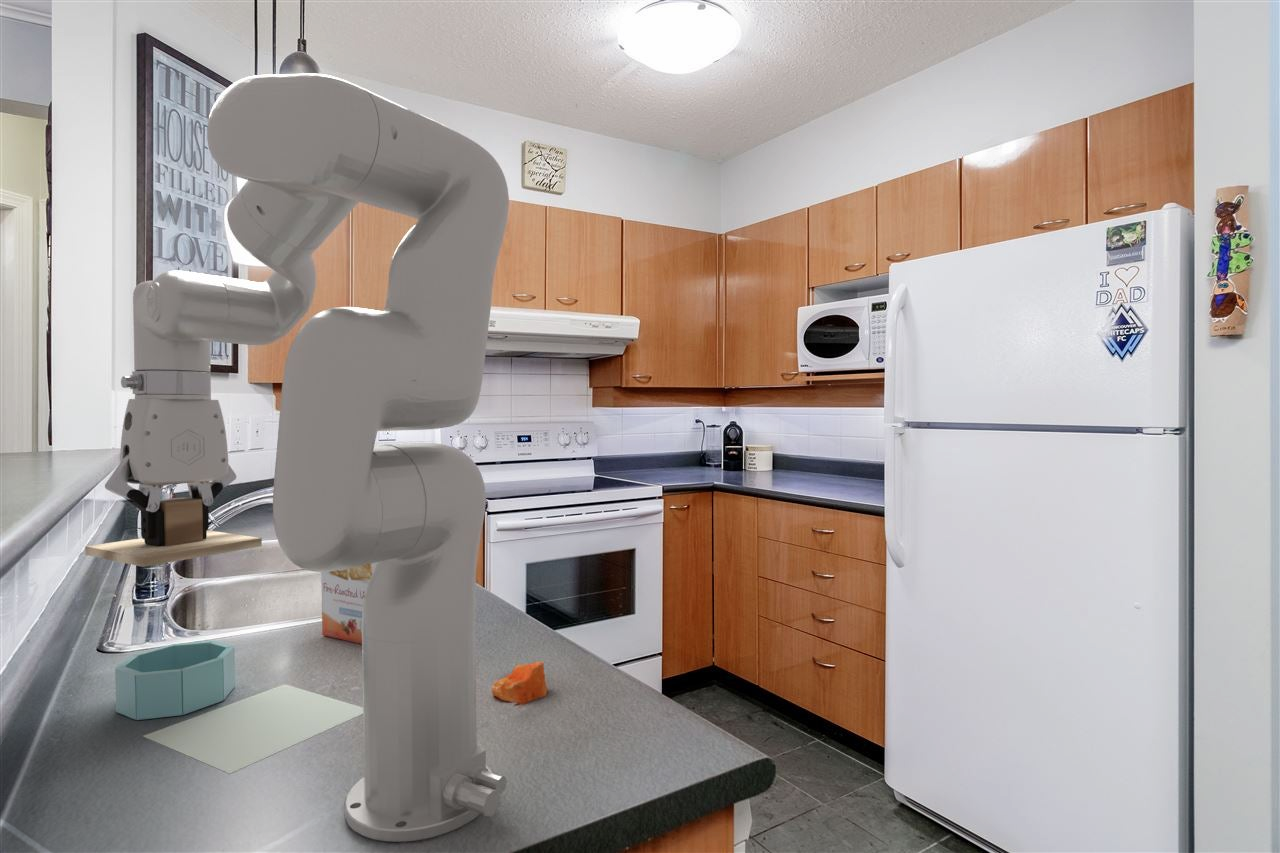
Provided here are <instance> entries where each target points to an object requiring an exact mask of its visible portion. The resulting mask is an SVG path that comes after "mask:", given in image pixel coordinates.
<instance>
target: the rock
mask: <svg viewBox="0 0 1280 853" xmlns="http://www.w3.org/2000/svg"><path fill="white" fill-rule="evenodd" d="M547 692H548V688H547V684H546V674H545V667H544V662H543V661H537V662H533V663H529V664H518V665H516V666H515V667H513V669H512V671H511V672H510V674H509V675H506V676H505V677H504V678H500V679H499V680H496V681H494V683H493V684H492V687H491V694H492V695H493V696H494V697H496V698H498V699H499V700H501V701H504V702H510V703H515V704H514V705H513V706H517V707H518V706H523V705H525V704H527V703H529V702H531V701H533V700H536V699H539V698H542V697H545V696H546V695H547Z"/></svg>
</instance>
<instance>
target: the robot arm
mask: <svg viewBox="0 0 1280 853" xmlns="http://www.w3.org/2000/svg"><path fill="white" fill-rule="evenodd" d="M206 126H207V127H206V142H207V146H208V150H209V152H210V155H211V157H212V158H213V160H214V161H215V163H216V164H217V165H218V166H219V167H220V168H221V169H222V171H224V172H226V173H228V174H229V175H232V176H233V177H237V178H240V179H244V180H246V182H245V183H244V185H243V186H242V187H241V188H240V190H239V191H238V192H237V194H235V196H234V197H233V199H232V200H231V201H230V203H229V204H228V208H227V213H226V216H227V222H228V226H229V229H230V231H231V233H232V235H233V236H234V238H235V239H236V241H237V242H238V243H239V244H240V245H241V247H242V248H243V249H244V250H246V251H247V252H248V253H249V254H250V255H251V256H253V258H255V259H256V260H257V261H259V262H261V263H262V264H264V265H265V266H266V267H268V268H269V269H271V270H273V271H274V272H273V273H272V274H271V275H270V276H269V277H268V278H267V279H265V280H264V281H263V282H257V281H252V280H251V281H250V280H246V279H239V278H235V277H227V276H220V275H215V274H214V275H213V274H205V273H199V272H194V271H186V270H168V271H164V272H163V273H161V274H159V275H158V276H156V277H155V279H153V280H146V281H142V282H140V283H138V284H137V285H136V286H135V287H134V289H133V293H132V295H133V296H132V312H133V313H132V315H133V316H132V318H133V322H132V323H133V365H134V366H133V367H134V370H132V373H131V375H129V376H127V375H123V376H122V377H121V379H120V384H121V387H122V388H123V389H130V390H132V394H133V395H134V398H129V399H128V401H127V404H126V408H125V412H124V418H123V423H122V429H121V438H120V439H121V440H120V453H119V454H120V455H119V464H118V465H117V467H116V468H115V469H114V471H113V473H112V474H111V475H110V477H109V478H108V480H107V481H106V482H105V484H104V488H105V489H106V491H109V492H111V493H113V494H116V495H118V496H120V497H122V498H123V499H125V500H126V501H128V502H129V503H130V504H131V505H132V506H134V507H135V509H136V510H137V511H140V534H141V535H140V536H141V538H143V539H144V541H145V544H147V545H153V546H162V545H163V544H164V513H163V511H159V505H160V500H162V499H161V498H162V493H163V488H164V486H168V485H179V484H181V485H182V484H187V490H188V493H189V498H194V499H202V513H203V539H206V537H207V530H209V527H210V524H209V523H210V522H209V521H210V519H209V512H210V510H209V506H212V505H213V503H214V499H216V497H217V496H218V495H219V494H220V493H221V492H222V490H223V489H224V488H226V487H227V486H229V485H230V484H231V483H232V482H234V481H236V479H237V474H236V472H235V471H234V469H232V467H231V466H230V464H229V451H228V440H227V434H226V433H227V432H226V425H225V421H224V416H223V413H222V408H221V404H220V402H219V399H212V396H211V395H212V393H211V392H212V389H211V388H212V387H211V386H212V379H211V376H212V375H211V365H212V364H211V343H212V342H213V343H224V344H238V345H247V346H266V345H267V346H268V345H271V344H273V343H276V342H277V341H279V340H280V339H283V338H284V337H285V336H286V335H288V334H289V333H290V332H291V331H292V330H293V329H294V328H295V327H296V326H297V325H298V324H299V323H300V321H301V320H303V318H304V317H305V316H306V314H307V313H308V312H309V310H310V308H311V307H312V304H313V299H314V295H315V291H316V285H317V272H316V266H315V262H314V258H313V254H314V252H316V251H317V249H318V248H319V247H320V246H321V245H323V243H324V241H326V239H327V238H329V236H330V235H332V233H333V232H334V231H335V230H336V228H337V227H338V226H339V225H341V223H342V221H344V220H345V219H346V217H347V216H348V215H349V214H350V213H351V212H352V211H353V210H354V208H355V207H357V205H358V204H359V203H361V204H365V205H367V206H371V207H375V208H379V209H382V210H386V211H390V212H393V213H397V214H401V215H403V216H408V217H410V218H413V219H416V220H418V221H416V223H414V225H412V227H411V228H410V229H409V230H407V233H405V235H404V236H403V238H402V239H401V241H400V242H399V243H398V246H397V247H396V249H395V251H394V252H393V255H392V257H391V261H390V266H389V273H388V283H387V284H388V286H387V292H386V293H387V294H386V300H385V304H384V308H383V310H375V309H371V308H369V309H368V308H363V307H357V306H356V307H354V306H339V307H336V306H335V307H332V308H331V307H330V308H327V309H325V310H322V311H320V312H317V313H316V314H314V315H313V316H311V317H310V318H308V320H306V321H305V322H304V324H303V325H302V326H301V327H300V329H299V330H298V332H297V333H296V335H295V336H294V339H293V341H292V342H291V345H290V347H289V350H288V352H287V354H286V355H287V356H286V359H285V363H284V368H283V370H284V371H283V377H282V384H281V394H280V406H279V418H278V429H277V442H276V455H275V463H274V464H275V466H274V477H273V490H272V491H273V493H272V515H273V516H272V518H273V526H274V532H275V536H276V539H277V542H278V544H279V547H280V549H281V550H282V552H283V554H284V555H285V556H286V558H287V559H288V560H289V561H290V562H291V563H292V564H294V565H295V566H296V567H299V568H300V569H303V570H305V571H310V572H316V573H321V572H331V571H337V570H344V569H349V568H353V567H357V566H362V565H366V564H371V563H375V562H378V563H377V565H376V567H375V569H374V571H373V574H372V576H371V578H370V581H369V584H368V587H367V589H366V593H365V597H364V602H363V609H362V644H361V653H362V654H361V657H362V658H361V659H362V660H361V661H362V662H361V666H362V668H361V669H362V674H361V675H362V707H363V714H362V721H363V722H362V723H363V724H362V725H363V731H362V732H363V733H362V734H363V736H362V738H363V777H362V778H361V779H359V780H357V782H356V783H355V784H354V785H353V786H352V787H351V789H349V792H348V793H347V795H346V797H345V801H344V818H345V820H346V822H347V825H348V826H349V827H350V828H351V829H352V831H354V832H356V833H357V834H359V835H361V836H363V837H365V838H368V839H371V840H374V841H381V842H390V843H391V842H396V843H397V842H398V843H403V842H414V841H419V840H420V841H421V840H425V839H430V838H435V837H437V836H440V835H444V834H448V833H450V832H452V831H454V830H456V829H457V830H458V829H459V828H462V827H463V826H465V825H466V824H468V823H470V822H472V821H473V820H475V819H476V818H477V817H478V816H479V815H483V816H484V817H485V816H486V817H491V816H493V815H494V814H495V813H496V811H497V810H498V808H499V805H500V800H501V796H500V794H502V793H503V792H504V791H505V790H506V787H507V783H508V782H507V777H506V776H505V775H501V774H498V773H496V772H494V771H493V770H492V768H490V766H489V765H488V764H487V762H486V761H487V760H486V757H487V756H486V755H487V754H486V751H487V749H486V748H483V747H481V746H477V744H478V743H477V739H478V738H477V736H478V735H477V732H478V730H477V673H476V672H477V668H476V665H477V663H476V660H477V659H476V658H477V656H476V653H477V652H476V619H477V618H476V617H477V616H476V615H477V614H476V584H477V583H476V582H477V580H476V579H477V578H476V577H477V564H478V553H479V547H480V546H479V545H480V541H481V535H482V531H483V525H484V521H485V520H484V519H485V513H486V501H487V500H486V499H487V498H486V497H487V496H486V495H487V493H486V487H485V481H484V477H483V476H482V473H481V470H480V469H479V467H478V465H477V464H476V463H475V462H474V460H473V459H472V458H471V457H470V456H469V455H467V454H466V453H465V452H463V451H462V450H460V449H458V448H456V447H454V446H450V445H446V444H442V443H435V442H409V443H407V442H406V443H389V444H387V443H386V444H379V445H378V444H377V445H375V443H376V439H377V436H378V432H390V431H391V432H393V431H394V432H395V431H420V430H421V431H423V430H437V429H438V430H439V429H446V428H450V427H454V426H457V425H459V424H462V423H464V422H465V421H466V420H467V419H468V418H470V417H471V416H472V414H473V413H474V411H475V410H476V407H477V405H478V402H479V398H480V394H481V390H482V384H483V377H484V368H485V360H486V352H487V351H486V350H487V344H488V343H487V342H488V335H489V326H490V317H491V308H492V298H493V297H492V296H493V295H492V294H493V287H494V286H493V285H494V279H495V273H496V268H497V263H498V259H499V255H500V250H501V248H502V245H503V241H504V237H505V232H506V227H507V223H508V215H509V206H510V202H509V200H510V199H509V198H510V197H509V187H508V183H507V180H506V176H505V174H504V172H503V170H502V168H501V166H500V164H499V163H498V161H497V160H496V159H495V157H494V156H493V155H492V154H491V153H490V152H489V151H488V150H487V149H485V148H484V147H483V146H481V144H478V142H475V141H474V140H472V139H471V138H469V137H468V136H466V135H463V134H462V133H460V132H459V131H456V130H454V129H452V128H451V127H449V126H447V125H445V124H442V123H440V122H438V121H436V120H434V119H432V118H430V117H428V116H425V115H423V114H422V113H419V112H417V111H415V110H412V109H409V108H407V107H405V106H402V105H400V104H398V103H396V102H394V101H392V100H389V99H387V98H386V97H383V96H380V95H379V94H377V93H374V92H373V91H370V90H368V89H367V88H363V87H362V86H359V85H357V84H354V83H352V82H350V81H347V80H345V79H342V78H339V77H337V76H333V75H328V74H323V73H283V74H281V73H279V74H260V75H256V74H255V75H251V76H247V77H244V78H241V79H239V80H237V81H236V82H233V83H232V84H231V85H229V86H228V87H227V88H226V89H225V90H224V91H223V92H222V93H221V94H220V95H219V96H218V98H217V100H216V101H215V103H214V104H213V106H212V108H211V111H210V113H209V117H208V121H207V125H206ZM129 484H134V485H138V484H139V485H138V489H136V488H134V487H132V486H131V485H129Z"/></svg>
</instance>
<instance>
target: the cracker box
mask: <svg viewBox="0 0 1280 853" xmlns="http://www.w3.org/2000/svg"><path fill="white" fill-rule="evenodd" d="M377 563H378V562H375V563H371V564H366V565H362V566H357V567H353V568H349V569H344V570H337V571H331V572H320V576H321V577H320V578H321V579H320V581H321V582H320V584H321V626H322V627H321V629H322V636H325V637H330V638H335V639H339V640H342V641H343V640H344V641H348V642H352V643H356V644H361V645H362V609H363V602H364V597H365V593H366V589H367V587H368V584H369V581H370V578H371V576H372V574H373V571H374V569H375V567H376V565H377Z"/></svg>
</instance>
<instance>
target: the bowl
mask: <svg viewBox="0 0 1280 853" xmlns="http://www.w3.org/2000/svg"><path fill="white" fill-rule="evenodd" d="M235 657H236V656H235V646H234V645H232V644H228V643H224V642H221V641H217V640H203V641H191V642H181V643H172V644H168V645H164V646H161V647H156V648H154V649H153V648H152V649H149V650H146V651H145V650H144V651H143V652H139V653H135V654H132V655H131V656H129V657H128V658H126V659H125V660H124V661H122V662H121V663H120V664H118V665H117V666H116V667H115V668H114V670H115V671H114V675H115V676H114V678H115V681H114V682H115V712H116V713H118V714H120V715H123V716H125V717H127V718H130V719H133V720H136V721H139V720H150V719H159V718H167V717H176V716H177V717H178V716H183V715H186V714H190V713H193V712H196V711H198V710H200V709H203V708H207V707H209V706H213V705H214V704H217V703H220V702H222V701H225V700H226V698H228V696H229V694H230V693H231V692H232V691H233V689H234V688H235V687H236V667H235V665H236V664H235V663H236V662H235V659H236V658H235Z"/></svg>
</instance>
